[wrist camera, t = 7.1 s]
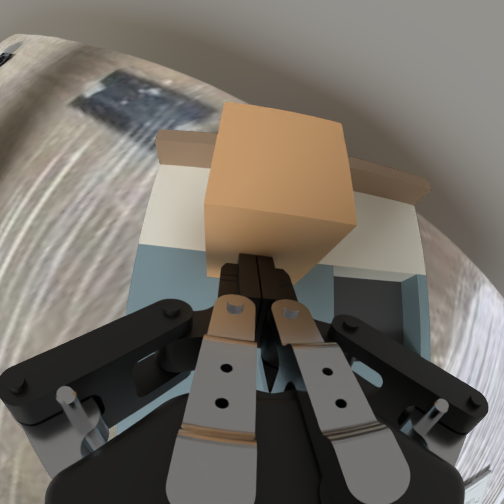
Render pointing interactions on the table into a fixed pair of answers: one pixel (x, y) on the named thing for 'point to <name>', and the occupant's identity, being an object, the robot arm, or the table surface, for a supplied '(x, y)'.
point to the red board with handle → (4, 57)
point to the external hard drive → (477, 489)
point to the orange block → (277, 189)
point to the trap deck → (310, 285)
